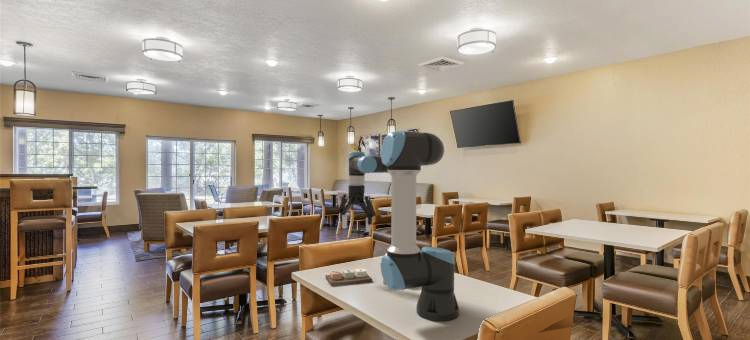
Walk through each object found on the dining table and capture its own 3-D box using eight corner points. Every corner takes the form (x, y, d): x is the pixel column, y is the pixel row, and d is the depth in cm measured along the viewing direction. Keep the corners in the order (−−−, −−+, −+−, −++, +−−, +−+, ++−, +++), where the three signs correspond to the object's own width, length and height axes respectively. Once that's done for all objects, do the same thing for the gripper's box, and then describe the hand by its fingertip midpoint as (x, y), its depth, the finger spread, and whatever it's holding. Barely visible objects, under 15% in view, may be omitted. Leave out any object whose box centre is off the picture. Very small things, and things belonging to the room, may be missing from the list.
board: (372, 281, 170) (372, 278, 170) (331, 286, 164) (331, 282, 164) (364, 274, 182) (364, 271, 181) (325, 278, 175) (325, 275, 175)
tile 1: (366, 276, 173) (366, 270, 173) (357, 277, 172) (357, 271, 172) (363, 273, 177) (363, 268, 177) (354, 274, 176) (354, 268, 176)
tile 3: (342, 278, 169) (342, 272, 169) (332, 279, 168) (332, 273, 168) (339, 276, 174) (339, 270, 174) (330, 276, 172) (330, 271, 172)
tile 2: (354, 277, 171) (354, 271, 171) (344, 278, 170) (345, 272, 170) (351, 274, 176) (351, 269, 176) (342, 275, 174) (342, 270, 174)
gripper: (383, 185, 171) (383, 231, 172) (340, 183, 185) (340, 225, 185) (374, 186, 165) (374, 234, 166) (330, 183, 178) (330, 228, 179)
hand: (356, 229), depth 175 cm, fingers open, 13 cm apart
